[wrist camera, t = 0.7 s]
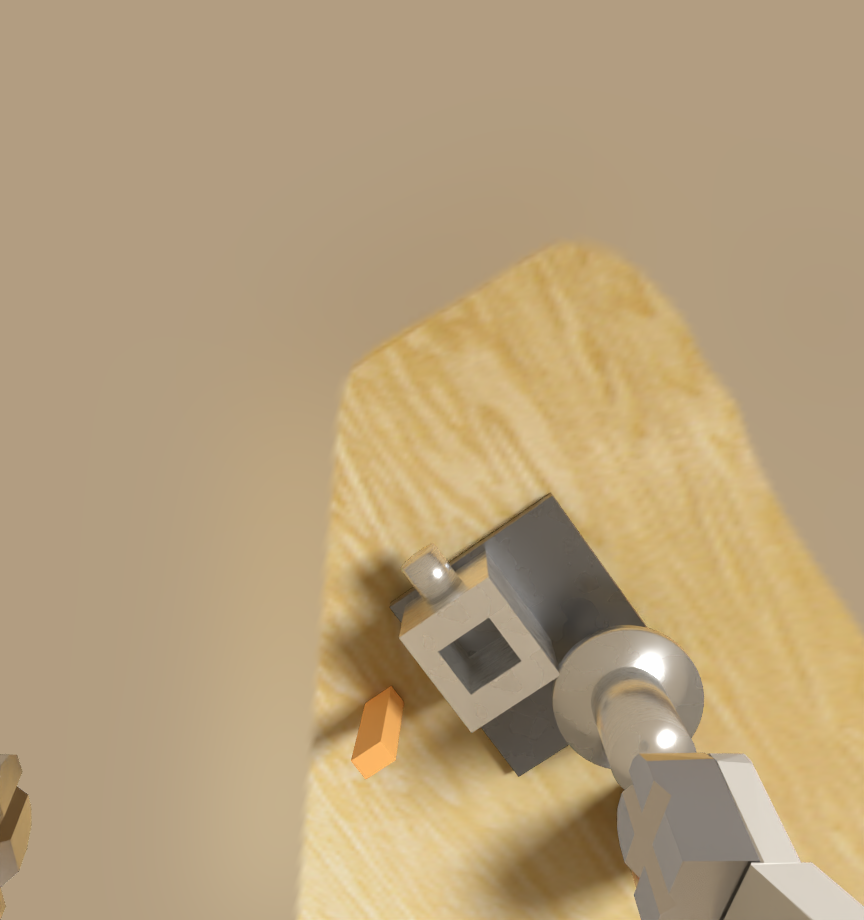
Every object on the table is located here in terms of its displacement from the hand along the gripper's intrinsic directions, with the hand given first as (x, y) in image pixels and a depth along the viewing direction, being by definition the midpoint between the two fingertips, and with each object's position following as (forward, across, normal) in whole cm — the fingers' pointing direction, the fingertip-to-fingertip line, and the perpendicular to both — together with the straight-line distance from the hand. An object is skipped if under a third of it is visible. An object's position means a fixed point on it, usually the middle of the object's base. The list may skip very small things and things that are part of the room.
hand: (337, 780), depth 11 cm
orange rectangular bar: (+36, +4, -38) cm, 52 cm away
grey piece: (+36, +14, -31) cm, 50 cm away
